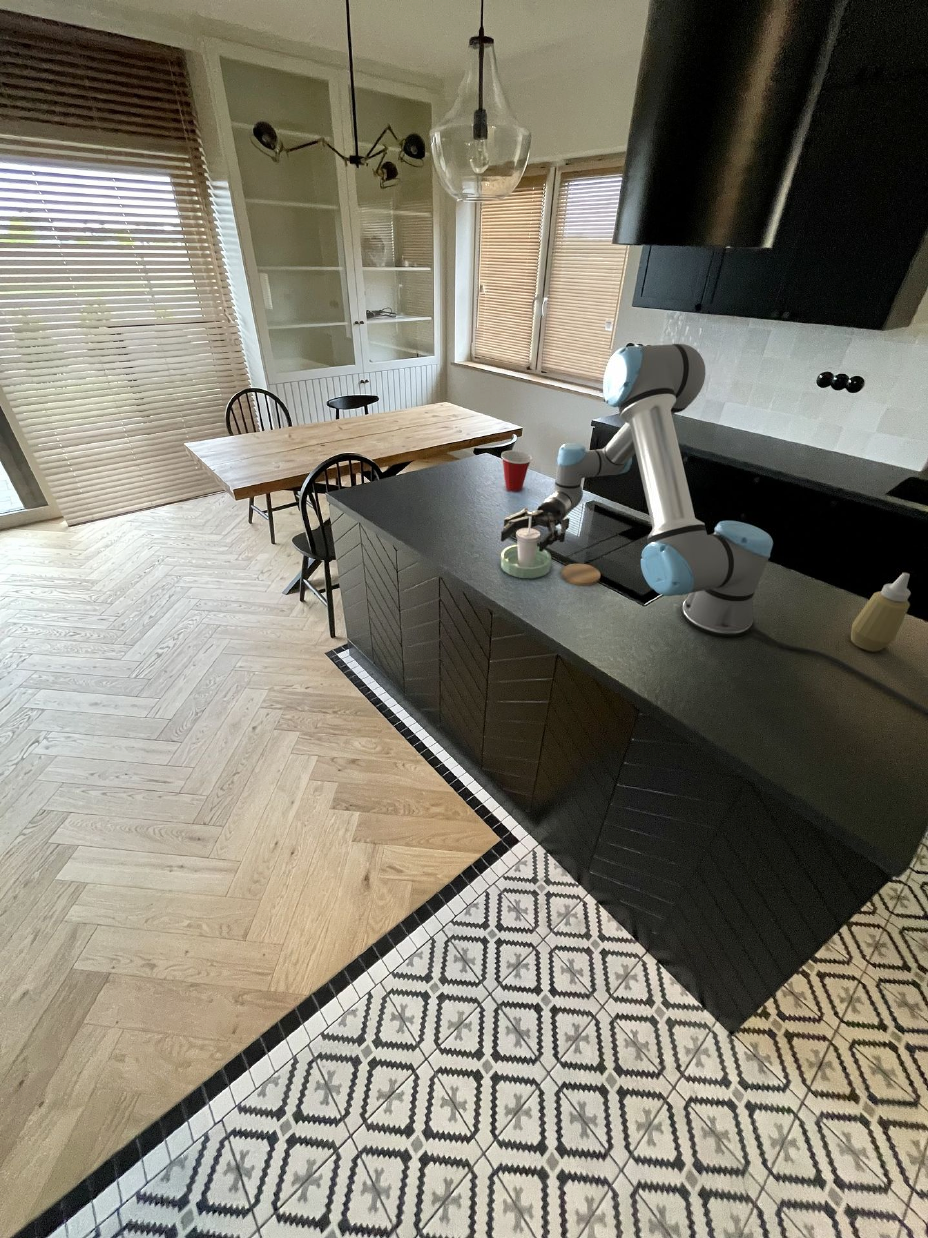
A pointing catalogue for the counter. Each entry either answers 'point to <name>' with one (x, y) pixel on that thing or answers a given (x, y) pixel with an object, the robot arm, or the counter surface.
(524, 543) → the smoothie
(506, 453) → the plastic cup
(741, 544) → the robot arm
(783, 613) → the counter surface
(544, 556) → the bowl
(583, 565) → the coaster
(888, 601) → the squeeze bottle
